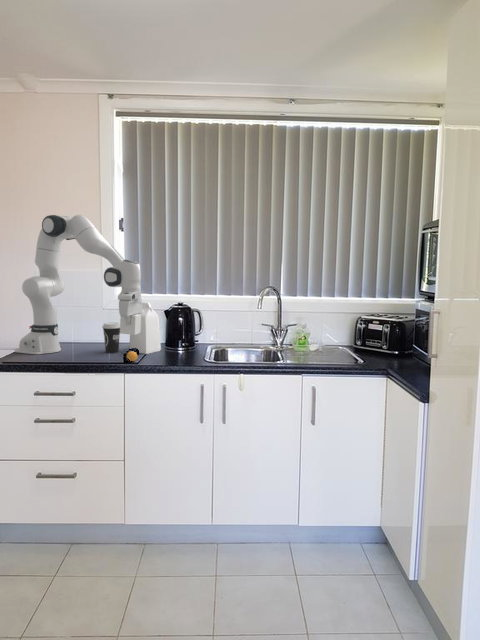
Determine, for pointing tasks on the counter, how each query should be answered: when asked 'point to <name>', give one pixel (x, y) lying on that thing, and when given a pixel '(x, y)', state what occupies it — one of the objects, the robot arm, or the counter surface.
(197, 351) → the counter surface
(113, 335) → the coffee cup
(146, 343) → the milk
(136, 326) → the white block
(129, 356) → the ball
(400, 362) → the counter surface
